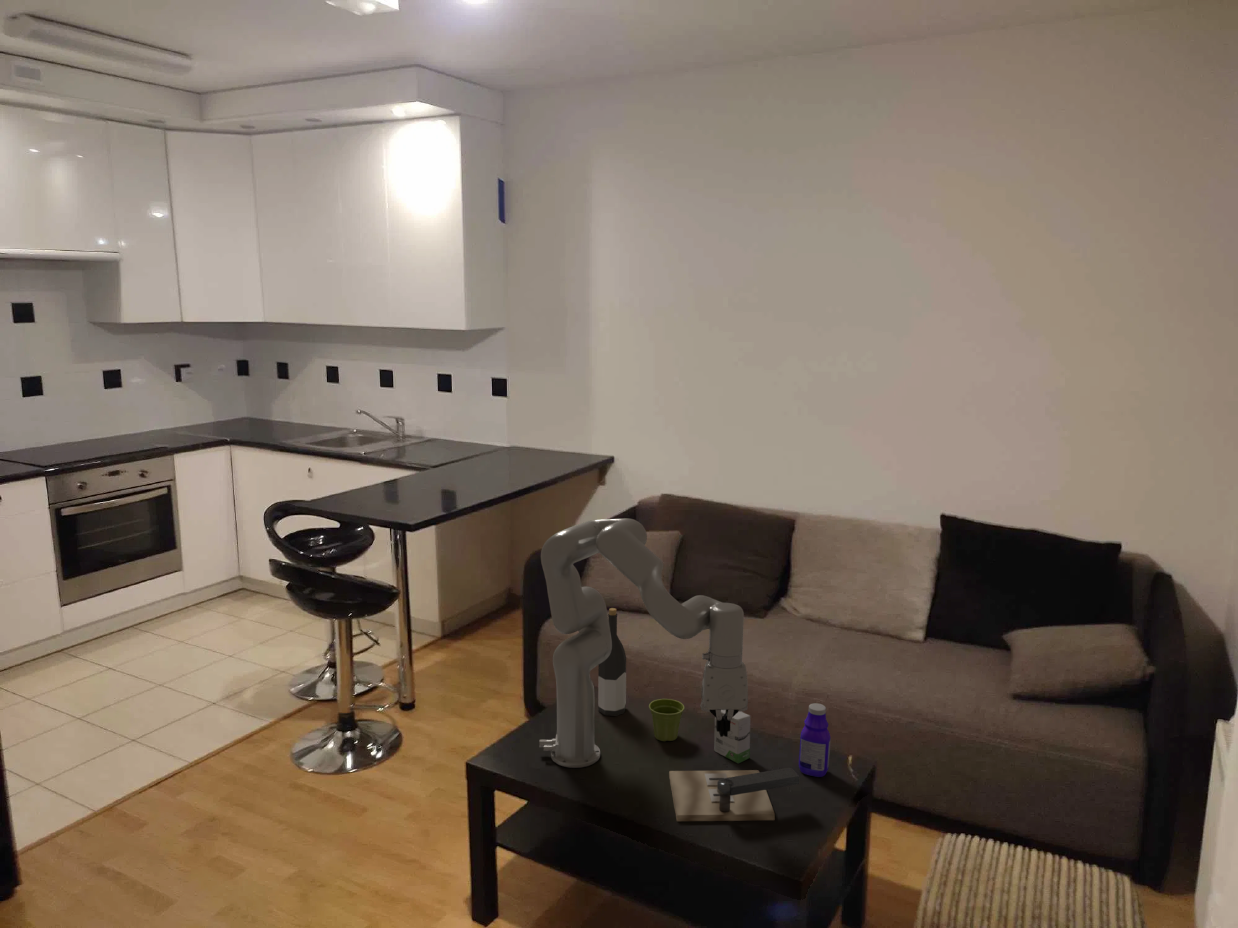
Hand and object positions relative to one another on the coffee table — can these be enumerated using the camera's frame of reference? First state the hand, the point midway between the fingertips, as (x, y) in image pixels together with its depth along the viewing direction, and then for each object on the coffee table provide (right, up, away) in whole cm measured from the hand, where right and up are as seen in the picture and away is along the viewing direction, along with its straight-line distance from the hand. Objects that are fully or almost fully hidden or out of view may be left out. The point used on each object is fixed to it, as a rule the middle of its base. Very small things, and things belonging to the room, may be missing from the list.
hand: (723, 733), depth 204 cm
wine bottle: (-26, -8, +49) cm, 56 cm away
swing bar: (+8, -12, -1) cm, 14 cm away
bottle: (+24, -15, +17) cm, 33 cm away
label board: (0, -16, +5) cm, 17 cm away
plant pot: (-11, -11, +34) cm, 38 cm away
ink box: (+5, -13, +25) cm, 29 cm away
